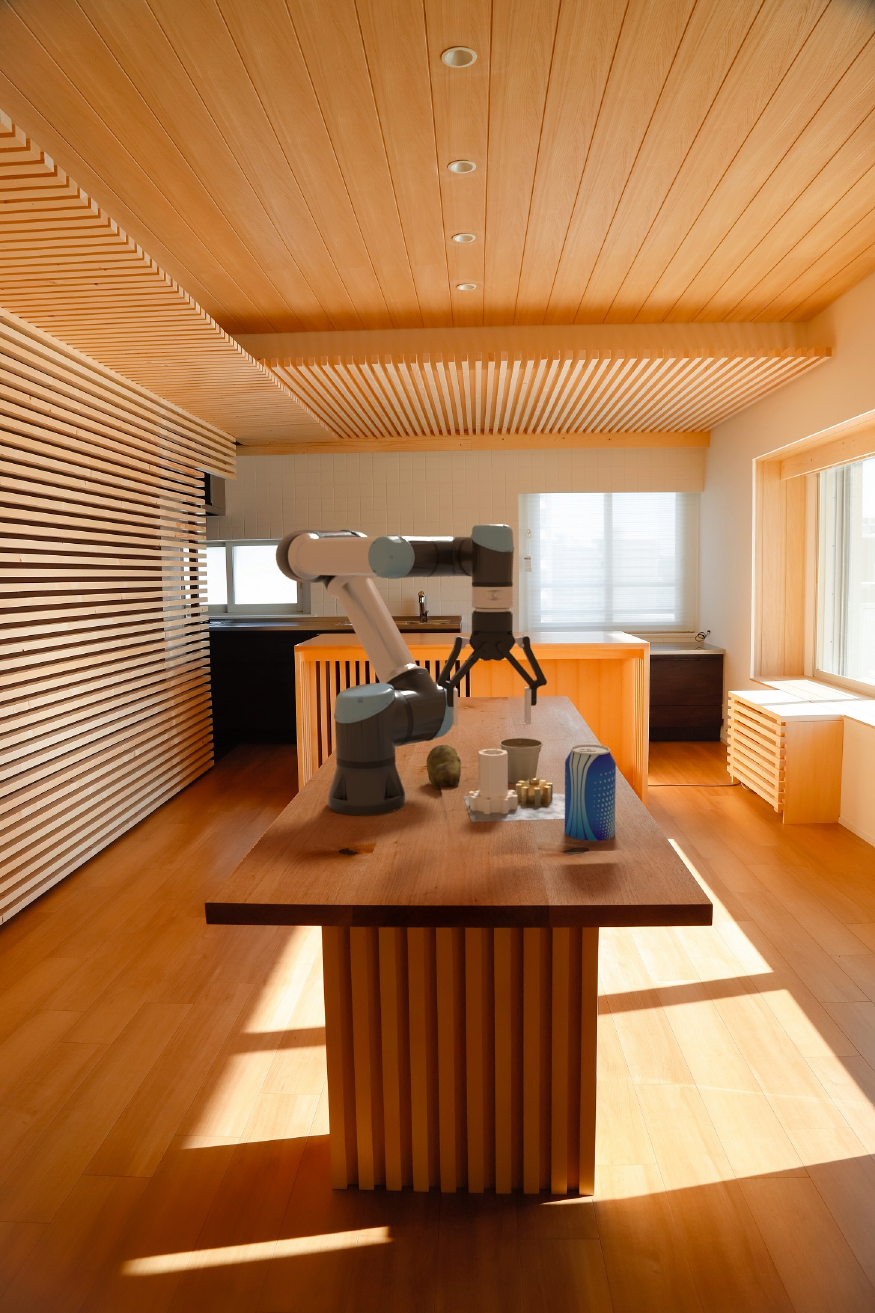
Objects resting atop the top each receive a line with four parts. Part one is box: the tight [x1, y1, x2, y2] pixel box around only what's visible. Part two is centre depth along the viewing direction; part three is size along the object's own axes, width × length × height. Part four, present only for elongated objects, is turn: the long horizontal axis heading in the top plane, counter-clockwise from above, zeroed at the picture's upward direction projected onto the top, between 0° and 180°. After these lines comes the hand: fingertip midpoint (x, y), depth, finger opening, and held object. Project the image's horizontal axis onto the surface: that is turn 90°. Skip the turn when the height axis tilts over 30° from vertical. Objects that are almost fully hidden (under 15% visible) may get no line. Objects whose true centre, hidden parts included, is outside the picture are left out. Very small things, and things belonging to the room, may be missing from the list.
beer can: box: [564, 743, 617, 842], centre depth 136 cm, size 8×8×16 cm
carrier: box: [462, 777, 565, 823], centre depth 151 cm, size 22×16×6 cm
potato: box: [426, 744, 462, 790], centre depth 171 cm, size 8×13×8 cm, turn 170°
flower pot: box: [498, 737, 544, 785], centre depth 174 cm, size 9×9×9 cm
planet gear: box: [468, 748, 518, 814], centre depth 151 cm, size 9×9×10 cm
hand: (491, 723), depth 150 cm, fingers open, 13 cm apart
